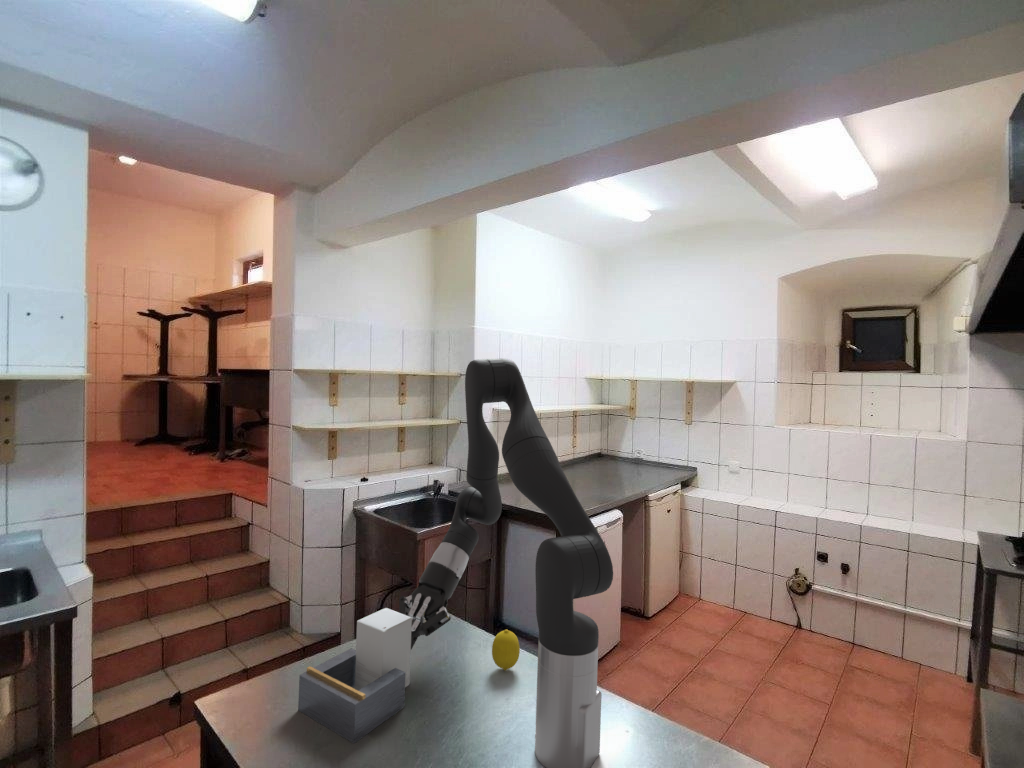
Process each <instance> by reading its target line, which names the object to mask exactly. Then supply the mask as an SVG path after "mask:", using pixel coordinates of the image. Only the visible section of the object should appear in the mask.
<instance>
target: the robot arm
mask: <svg viewBox="0 0 1024 768" xmlns="http://www.w3.org/2000/svg"><path fill="white" fill-rule="evenodd" d="M464 378H465V379H464V391H465V392H464V393H465V394H464V395H465V397H464V398H465V413H466V414H465V415H466V425H467V426H466V427H467V429H466V430H467V439H468V441H467V442H468V443H467V444H468V445H467V447H468V448H467V449H468V451H467V452H468V453H467V463H466V474H465V475H466V482H467V483H468V485H470V486H468V487H465V488H464V489H462V490H461V491H460V492H459V494H458V496H457V498H456V499H457V500H456V504H455V508H454V512H453V516H452V520H451V522H450V525H449V527H448V529H447V532H446V534H445V535H444V537H443V539H442V540H441V542H440V543H439V545H438V547H437V548H436V549H435V551H434V553H433V554H432V557H431V558H430V560H429V561H428V562H427V565H426V567H425V568H424V570H423V572H422V574H421V576H420V577H419V579H418V586H417V587H416V588H415V589H414V590H413V591H412V593H411V594H410V595H409V596H404V595H401V596H400V597H399V599H398V603H399V604H398V605H399V607H398V608H399V609H398V610H399V611H398V612H399V613H401V614H404V615H407V616H410V617H412V626H411V651H412V650H413V647H414V646H415V644H416V642H417V641H418V638H419V637H421V636H425V637H428V636H430V635H431V634H433V633H434V632H436V631H437V630H439V629H440V628H441V627H443V626H444V625H446V624H447V623H449V622H450V621H451V618H452V617H451V616H450V614H449V613H448V610H447V607H448V600H449V599H451V598H452V596H453V594H454V592H455V591H456V588H457V586H458V584H459V581H460V580H461V578H462V576H463V574H464V572H465V570H466V568H467V565H468V562H469V559H470V558H471V555H472V554H473V551H474V550H475V548H476V546H477V544H478V541H479V533H478V531H477V530H476V529H475V528H474V527H473V526H472V525H470V524H469V523H467V522H466V521H467V519H469V520H471V521H473V522H474V521H475V522H477V523H479V524H482V525H486V526H491V525H494V524H495V523H496V522H498V520H499V518H500V516H501V514H502V508H503V503H502V496H501V492H500V486H499V480H498V472H499V463H500V450H499V446H498V443H497V441H496V439H495V438H494V437H495V436H494V435H493V434H492V432H491V431H490V428H489V427H488V426H487V424H486V421H485V419H484V413H483V409H484V408H483V406H484V404H491V403H505V404H507V406H508V408H509V411H510V419H509V421H508V425H507V428H506V431H505V434H504V437H503V441H502V445H501V455H502V459H503V461H504V464H505V467H506V468H507V472H508V474H509V476H510V477H509V478H510V479H511V481H512V483H513V484H514V486H515V488H516V489H517V490H518V491H519V492H520V493H521V494H522V495H523V496H524V497H525V498H527V499H528V500H529V502H531V503H532V504H533V505H534V506H536V507H537V508H538V509H540V510H541V511H542V512H543V513H544V514H545V515H546V516H547V517H548V518H549V520H551V521H552V522H553V524H554V525H555V527H556V529H557V530H558V533H559V534H560V536H555V537H551V538H550V537H549V538H546V539H545V540H543V541H542V542H541V543H540V545H539V546H538V548H537V551H536V555H535V556H536V557H535V575H534V576H535V614H536V621H537V622H536V623H537V627H538V643H537V644H538V648H537V649H538V650H537V651H538V652H537V677H536V699H535V701H536V705H535V706H536V707H535V730H534V731H535V734H534V739H535V740H534V754H535V756H536V758H537V760H538V762H540V764H541V765H542V766H543V767H545V768H591V767H592V765H593V764H594V763H595V761H596V760H597V758H598V756H599V755H600V754H601V753H600V752H601V751H600V749H601V724H602V723H601V719H602V718H601V717H602V713H601V712H602V691H600V690H598V666H599V665H598V663H599V661H598V660H599V637H600V636H599V627H598V625H597V623H596V621H595V620H594V619H593V618H591V617H590V616H588V615H587V614H584V613H582V612H579V611H575V610H574V600H575V599H580V598H581V599H582V598H585V597H591V596H595V595H599V594H601V593H604V592H606V591H608V590H609V588H610V587H611V585H612V583H613V581H614V569H613V568H614V566H613V562H612V561H613V560H612V559H611V555H610V552H609V550H608V548H607V546H606V544H605V541H604V540H603V538H602V536H601V535H600V533H599V532H598V530H597V528H596V527H595V525H594V523H593V522H592V520H591V518H590V517H589V515H588V513H587V512H586V511H585V509H584V507H583V505H582V504H581V502H580V501H579V499H578V497H577V495H576V493H575V491H574V490H573V487H572V486H571V484H570V482H569V480H568V478H567V476H566V473H565V472H564V470H563V467H562V466H561V462H560V461H559V459H558V455H557V454H556V452H555V450H554V448H553V445H552V444H551V443H552V442H550V440H549V437H548V436H547V434H546V432H545V430H544V428H543V426H542V423H541V422H540V420H539V418H538V416H537V413H536V411H535V409H534V407H533V404H532V401H531V398H530V396H529V393H528V390H527V387H526V384H525V382H524V379H523V376H522V374H521V371H520V368H519V367H518V365H517V364H516V362H515V361H514V360H512V359H510V358H502V357H501V358H500V357H499V358H482V359H473V360H471V361H469V363H468V365H467V366H466V370H465V376H464Z"/></svg>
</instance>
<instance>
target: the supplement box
mask: <svg viewBox="0 0 1024 768" xmlns="http://www.w3.org/2000/svg"><path fill="white" fill-rule="evenodd" d="M411 626H412V617H410V616H407V615H404V614H401V613H399V611H395V610H393V609H391V608H388V607H384V608H382V609H380V610H378V611H375V612H373V613H371V614H369V615H367V616H364V617H363V618H360V619H358V620H357V621H356V636H355V637H356V639H355V640H356V641H355V642H356V643H355V650H356V668H355V687H354V689H356V690H360V689H362V688H363V687H365V686H366V685H368V684H370V683H371V682H373V681H375V680H376V679H378V678H379V677H381V676H383V675H384V674H386V673H388V672H389V671H391V670H392V669H394V668H397V669H399V670H401V671H404V672H406V675H405V688H407V687H408V686H410V685H411V684H410V683H411V682H410V681H411V655H412V650H411Z"/></svg>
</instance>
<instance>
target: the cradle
mask: <svg viewBox="0 0 1024 768" xmlns="http://www.w3.org/2000/svg"><path fill="white" fill-rule="evenodd" d="M355 668H356V649H355V648H352V647H351V648H349V649H347V650H345V651H342V653H339V654H337V655H336V656H333V657H332V658H330V659H328V660H325V661H324V662H322V663H320V664H318V665H316V666H314V667H313V666H310V665H309V666H308V667H306V671H304V672H303V673H300V674H299V679H298V680H299V685H298V704H297V711H298V712H301V714H303V713H304V714H303V715H304V716H307V717H308V718H310V719H312V720H314V722H317V723H318V724H320V725H321V726H323V727H326V728H327V729H329V730H330V731H332V732H333V733H335V734H336V735H339V736H340V737H342V738H344V739H346V740H347V741H349V742H351V743H352V744H355V743H357V742H359V740H361V739H362V738H364V737H365V736H367V734H369V733H370V732H372V731H373V730H375V729H376V728H378V727H379V726H380V725H381V724H383V723H384V722H385V721H387V720H388V719H390V718H391V717H393V716H394V715H395V714H397V713H398V712H399V711H401V710H403V709H404V708H405V701H406V700H405V698H406V697H405V696H406V687H405V675H406V672H404V671H401V670H399V669H397V668H394V669H392V670H391V671H389V672H388V673H386V674H384V675H383V676H381V677H379V678H378V679H376V680H375V681H373V682H371V683H370V684H368V685H366V686H365V687H363V688H362V689H360V690H356V689H355Z"/></svg>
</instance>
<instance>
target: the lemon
mask: <svg viewBox="0 0 1024 768" xmlns="http://www.w3.org/2000/svg"><path fill="white" fill-rule="evenodd" d="M520 647H521V646H520V642H519V638H518V637H517V635H516V634H515V633H514V632H513V631H511V630H508V629H504V630H501V631H499V632H498V633H497V634H496V635H495V636H494V639H493V641H492V645H491V656H492V660H493V662H494V663H495V665H496V666H497V667H499V668H500V669H502V671H504V672H505V671H507V670H509V669H511V668H513V667H514V666H515V665H516V664H517V662H518V660H519V657H520V652H521V651H520V650H521V649H520Z"/></svg>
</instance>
